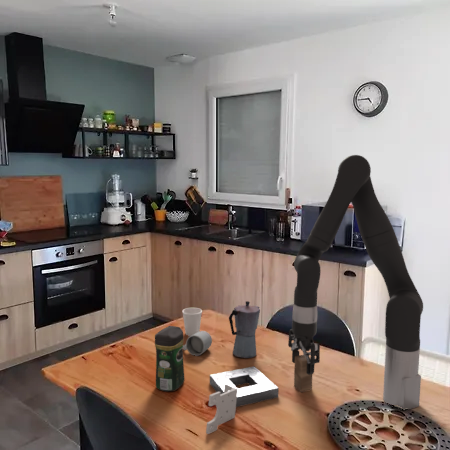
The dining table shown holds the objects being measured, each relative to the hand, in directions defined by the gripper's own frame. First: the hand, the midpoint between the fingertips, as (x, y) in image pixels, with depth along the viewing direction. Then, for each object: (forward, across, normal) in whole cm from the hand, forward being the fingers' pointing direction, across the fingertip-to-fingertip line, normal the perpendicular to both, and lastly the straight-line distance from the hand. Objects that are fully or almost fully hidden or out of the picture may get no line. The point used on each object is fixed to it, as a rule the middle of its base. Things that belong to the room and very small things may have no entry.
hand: (302, 367), depth 140 cm
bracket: (+7, -8, +32) cm, 34 cm away
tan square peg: (+6, -1, 0) cm, 6 cm away
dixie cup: (+8, +56, +18) cm, 59 cm away
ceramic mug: (+7, +39, +22) cm, 45 cm away
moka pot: (+7, +29, +6) cm, 31 cm away
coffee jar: (+7, +17, +38) cm, 42 cm away
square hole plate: (+7, +5, +18) cm, 20 cm away
